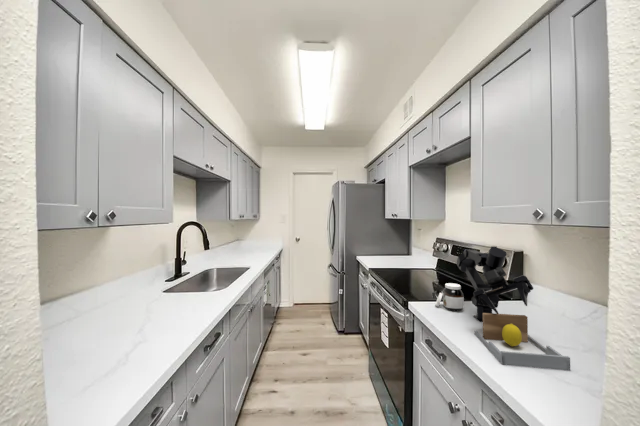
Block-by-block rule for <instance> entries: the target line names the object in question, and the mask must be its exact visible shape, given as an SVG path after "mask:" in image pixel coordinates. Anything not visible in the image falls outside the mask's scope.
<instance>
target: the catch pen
mask: <svg viewBox="0 0 640 426" xmlns="http://www.w3.org/2000/svg"><path fill="white" fill-rule="evenodd" d="M473 333H474V335H475V337H476V338H477V339H478V340H479V341H480V342H481V344H483V346H484V347H486V348H487V350H488V351H489V352H490V353H491V354H492V356H494V358H495V359H496V360H497V361H498V362H499V363H500V364H501V365H502V366H512V367H513V366H514V367H525V368H536V369H537V368H538V369H548V370H559V371H560V370H561V371H571V357H570V356H569V355H563V354H561V353H560V352H558V351H557V350H555V349H554V347H551V346H550V345H546V347H545V346H544V345H543V344H541V343H540V342H539V341H537V340H536V339H535V338H534V337H532V336H530V335H529V334H528V341H529V342H530V343H531V344H532V345H534V346H535V347H536V348H537V349H539V350H540V351H541V352H543V353H544V354H543V353H532V352H531V353H530V352H517V351H505V350H500V349H499V348H498V347H497V346H496V345H495V344H494V343H493V341H487V339H484V338H483V335H481V334H480V332H478V331H477V330H474V332H473Z"/></svg>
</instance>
